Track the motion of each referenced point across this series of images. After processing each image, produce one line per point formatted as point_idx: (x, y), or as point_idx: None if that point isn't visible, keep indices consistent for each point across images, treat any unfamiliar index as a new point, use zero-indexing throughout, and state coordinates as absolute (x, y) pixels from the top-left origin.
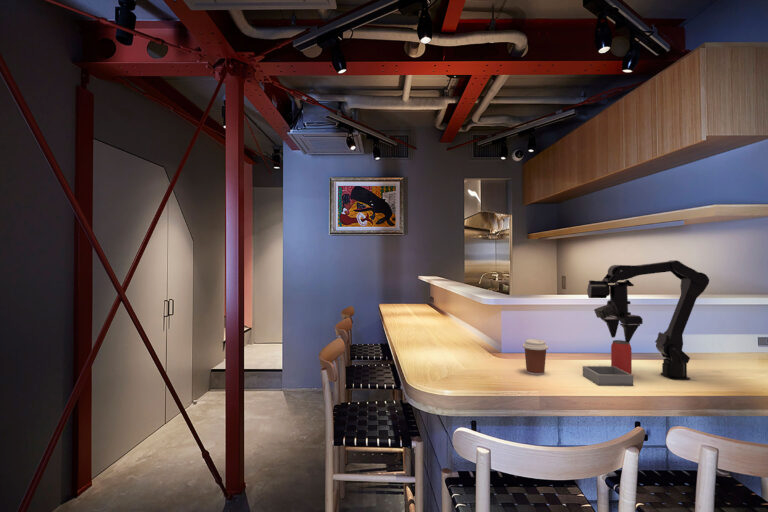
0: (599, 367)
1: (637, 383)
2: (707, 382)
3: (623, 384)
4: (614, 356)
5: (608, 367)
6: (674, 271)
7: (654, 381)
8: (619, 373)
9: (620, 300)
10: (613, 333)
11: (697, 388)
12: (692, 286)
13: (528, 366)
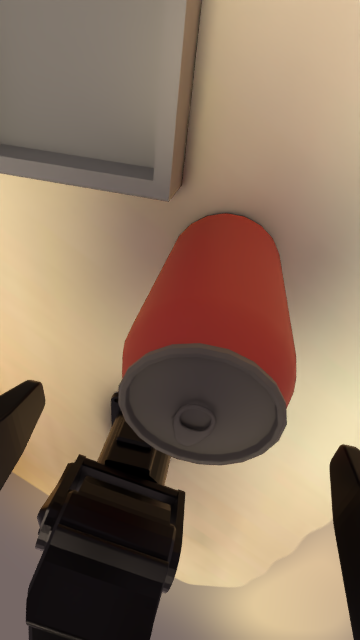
0: (162, 36)
1: (41, 213)
2: (89, 450)
3: None
4: (200, 257)
5: (156, 135)
6: None
7: (85, 315)
8: (84, 163)
9: None
10: (348, 508)
11: (17, 382)
12: None
13: None
